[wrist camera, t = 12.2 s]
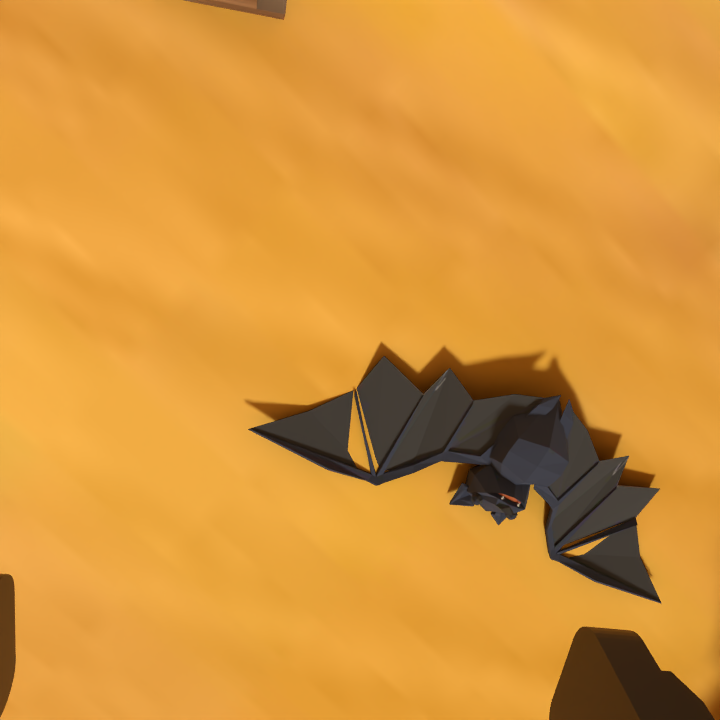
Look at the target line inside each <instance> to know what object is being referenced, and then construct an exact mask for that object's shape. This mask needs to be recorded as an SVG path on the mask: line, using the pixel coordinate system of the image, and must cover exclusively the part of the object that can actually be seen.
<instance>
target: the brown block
mask: <svg viewBox="0 0 720 720" xmlns="http://www.w3.org/2000/svg"><path fill="white" fill-rule="evenodd" d="M185 1H190V2H196V3H201V4H206V5H211V6H216V7H221V8H226V9H232V10H237V11H242V12H247V13H252V14H257V15H263V16H268V17H273V18H278V19H283V20H284V17H285V11H286V2H287V0H185Z"/></svg>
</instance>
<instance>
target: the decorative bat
mask: <svg viewBox="0 0 720 720" xmlns="http://www.w3.org/2000/svg"><path fill="white" fill-rule="evenodd" d="M357 391H358V395H359V398H360V402H361V406H362V409H363V413H364V417H365V420H366V424H367V428H368V432H369V435H370V439H371V443H372V446H373V450H374V454H375V457H376V460H377V463H378V465H379V468H378V470H377V472H376V474H375V470H374V466H373V463H372V459H371V455H370V452H369V448H368V444H367V440H366V436H365V431H364V426H363V421H362V416H361V411H360V406H359V401H358V396H357V392H355V400H356V405H357V409H358V414H359V418H360V423H361V427H362V432H363V436H364V441H365V445H366V450H367V455H368V460H369V466H370V472H371V474H370V473H367V472H365V471H363V470H360V469H358V468H356V466H355V464H354V462H353V460H352V458H351V456H350V454H349V452H348V440H349V429H350V419H351V409H352V398H353V391H351V392H349V393H347V394H344V395H342V396H340V397H338V398H336V399H334V400H332V401H330V402H327V403H325V404H323V405H321V406H319V407H317V408H315V409H312V410H310V411H308V412H304V413H301V414H298V415H294V416H291V417H288V418H284V419H281V420H278V421H274V422H271V423H267V424H264V425H261V426H257V427H254V428H251V429H248V430H250V431H252V432H254V433H256V434H258V435H260V436H262V437H264V438H266V439H268V440H270V441H272V442H274V443H276V444H278V445H280V446H282V447H284V448H286V449H288V450H289V451H291V452H293V453H295V454H297V455H299V456H301V457H303V458H305V459H307V460H309V461H311V462H313V463H315V464H317V465H319V466H321V467H323V468H325V469H327V470H330V471H333V472H337V473H340V474H344V475H347V476H351V477H355V478H358V479H362V480H365V481H368V482H370V483H372V484H374V485H380V484H382V483H385V482H388V481H391V480H394V479H397V478H400V477H403V476H406V475H409V474H412V473H414V472H417V471H419V470H421V469H424V468H426V467H428V466H430V465H433V464H435V463H437V462H440V461H445V462H458V463H471V464H479V465H478V466H476V467H473V468H471V469H469V472H468V476H467V480H466V484H464V483H462V484H461V486H460V487H459V489H458V490H457V492H456V493H455V495H454V497H453V498H452V500H451V501H450V505H463V506H474V504H475V505H479V504H480V505H481V506H482V507H483V508H484V509H485V510H486V511H492V512H491V515H492V517H493V518H494V520H495V521H496V522H497V524H498V525H499V524H500V523H501V522H502V521H503V520H504V519H505V518H506V517H507V518H508V519H510V520H512V519H515V518H516V516H517V512H519V511H522V510H524V509H525V507H526V503H527V499H528V494H529V489H530V485H531V484H534V489H535V490H536V492H537V493H538V494H539V495H540V496H541V497H542V498H543V499H544V500H545V501H546V502H547V503H548V504H549V505H550V511H549V515H548V519H547V523H546V527H545V532H546V539H547V547H548V552H549V556H550V558H551V559H552V560H555V561H558V562H560V563H562V564H564V565H565V566H567V567H569V568H571V569H573V570H574V571H576V572H578V573H580V574H582V575H583V576H585V577H587V578H589V579H591V580H592V581H594V582H597V583H600V584H603V585H606V586H609V587H612V588H615V589H619V590H622V591H625V592H628V593H631V594H634V595H637V596H640V597H643V598H646V599H649V600H652V601H655V602H658V603H661V601H660V599H659V597H658V595H657V593H656V591H655V588H654V586H653V584H652V582H651V580H650V578H649V575H648V573H647V571H646V569H645V567H644V565H643V562H642V560H641V558H640V552H639V544H638V535H637V526H636V525H637V522H636V517H637V515H638V514H639V513H640V512H641V511H642V509H643V508H644V507H645V506H646V505H647V504H648V502H649V501H650V500H651V499H652V498H653V496H654V495H655V494H656V493H657V492H658V491H659V489H657V488H646V487H634V486H623V485H618V482H619V480H620V477H621V475H622V472H623V470H624V467H625V465H626V462H627V460H628V457H629V456H625V457H619V458H614V459H608V460H603V461H599V459H598V456H597V454H596V451H595V448H594V446H593V443H592V441H591V438H590V436H589V433H588V430H587V429H586V428H585V426H584V425H583V424H582V423H581V421H580V420H579V419H578V417H577V416H576V415H575V413H574V412H573V409H572V406H571V403H570V400H569V401H568V403H567V405H566V408H565V410H564V412H563V414H562V409H561V405H560V400H559V398H560V396H561V395H558V396H553V397H548V398H541V397H533V396H525V395H517V394H513V395H506V396H500V397H494V398H487V399H481V400H474V401H473V399H472V398H471V396H470V395H469V394H468V392H467V391H466V390H465V388H464V387H463V385H462V384H461V383H460V381H459V380H458V378H457V377H456V376H455V374H454V373H453V372H452V370H451V369H450V368H449V369H448V370H447V371H446V372H445V373H444V374H443V375H442V376H441V377H440V378H439V379H438V380H437V381H436V382H435V383H434V384H433V385H432V386H431V387H430V388H429V389H428V390H427V391H426V392H425V393H424V394H423V393H422V392H421V391H420V390H419V389H418V388H417V387H416V386H415V385H414V384H413V383H412V382H411V381H410V380H408V379H407V378H406V377H405V376H404V375H403V374H402V373H401V372H400V371H399V370H398V369H397V368H396V367H395V366H394V365H393V364H392V363H391V362H390V361H389V360H388V359H387V358H386V357H385V356H384V357H383V358H382V359H381V360H380V361H379V362H378V364H377V365H376V366H375V367H374V368H373V370H372V371H371V372H370V373H369V374H368V376H367V377H366V378H365V379H364V380H363V381H362V383H361V384H360V385H359V386H358V387H357ZM385 470H390V471H387V472H385ZM384 472H385V473H384ZM626 521H627V522H626ZM621 523H622V524H621ZM618 524H620V525H618ZM616 525H618V526H616ZM613 526H615V527H613ZM611 527H613V528H611ZM608 528H611V529H608ZM605 529H608V530H606V531H604V532H602V533H599V534H597V535H595V536H593V537H590V538H588V539H586V540H584V541H581V542H579V543H577V544H575V545H572V546H570V547H568V548H565V549H562V550H560V548H561V547H562V546H563V545H565V544H568V543H571V542H574V541H576V540H579V539H581V538H584V537H587V536H589V535H592V534H595V533H597V532H600V531H603V530H605ZM609 535H610V536H609ZM607 536H608V537H607ZM604 537H607V538H606V539H604V540H603V541H602V542H600V543H599V544H598V545H596V546H595V547H594V548H592V549H591V550H590V551H588V552H587V553H586V554H584V555H579V556H575V557H570V558H567V557H565V556H563V555H561V554H562V553H564V552H567V551H570V550H572V549H575V548H578V547H580V546H583V545H585V544H588V543H591V542H593V541H596V540H599V539H601V538H604Z"/></svg>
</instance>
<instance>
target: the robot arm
mask: <svg viewBox="0 0 720 720" xmlns="http://www.w3.org/2000/svg"><path fill="white" fill-rule="evenodd" d="M15 661H16V654H15V591H14V581H13V578H12V576H11V575H9V574H0V717H1V715H2V712H3V710H4V708H5V705H6V703H7V700H8V697H9V694H10V690H11V686H12V682H13V678H14V672H15ZM549 720H714V718H713V716H712V715H711V713H710V712H709V710H708V709H707V707H706V706H705V704H704V703H703V701H702V700H700V699H699V698H698V697H697V696H696V695H695V694H694V693H693V692H692V691H691V690H690V689H689V688H688V687H687V686H686V685H685V684H684V683H683V682H681V681H680V680H679V679H678V678H677V677H676V676H675V675H674V674H673V673H672V672H671V671H661V670H660V668H659V666H658V665H657V663H656V662H655V660H654V658H653V657H652V655H651V653H650V652H649V650H648V648H647V647H646V645H645V643H644V642H643V640H642V639H641V637H640V636H639V635H638V634H637V633H635V632H634V631H629V630H618V629H607V628H595V627H582V628H580V629H579V630H578V631H577V632H576V634H575V636H574V639H573V642H572V645H571V647H570V650H569V653H568V656H567V659H566V662H565V665H564V667H563V670H562V673H561V676H560V679H559V682H558V685H557V688H556V690H555V693H554V696H553V699H552V702H551V707H550V714H549Z"/></svg>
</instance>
